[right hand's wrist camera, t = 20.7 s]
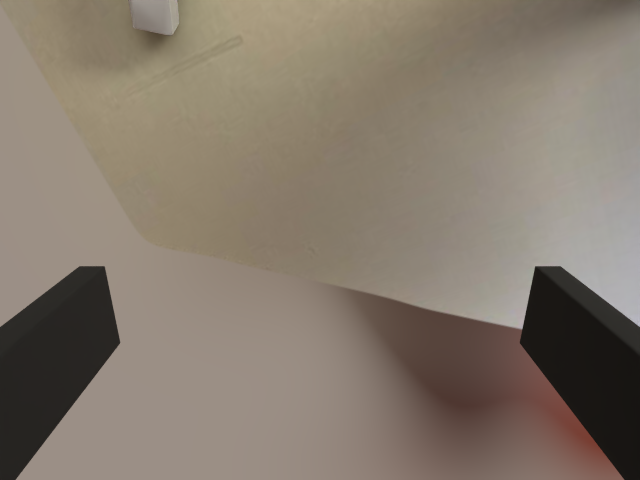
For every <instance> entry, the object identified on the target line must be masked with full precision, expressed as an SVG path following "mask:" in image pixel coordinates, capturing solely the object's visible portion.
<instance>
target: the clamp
mask: <svg viewBox="0 0 640 480" xmlns="http://www.w3.org/2000/svg"><path fill="white" fill-rule="evenodd" d="M128 1H129V6H130V12H131V17H132V22H133V27H134V28H136V29H141V30H145V31H150V32H155V33H159V34H164V35H173V33H174V32H175V30H176V28H177V26H178V25H179V12H178V2H177V0H128Z"/></svg>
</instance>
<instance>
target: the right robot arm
mask: <svg viewBox="0 0 640 480" xmlns="http://www.w3.org/2000/svg"><path fill="white" fill-rule="evenodd" d="M119 344H120V339H119V334H118V329H117V325H116V320H115V315H114V310H113V305H112V300H111V295H110V290H109V286H108V281H107V276H106V271H105V267H104V266H80V267H78V268H77V269H76V270H74V271H73V272H72V273H70V274H69V275H68V276H66V277H65V278H64V279H62V280H61V281H60V282H59V283H57V284H56V285H55V286H53V287H52V288H51V289H49V290H48V291H47V292H45V293H44V294H43V295H42V296H40V297H39V298H38V299H36V300H35V301H34V302H32V303H31V304H30V305H29V306H27V307H26V308H25V309H23V310H22V311H21V312H20V313H18V314H17V315H15V316H14V317H13V318H12V319H10V320H9V321H8V322H6V323H5V324H4V325H3V326H1V327H0V480H16V478H17V477H18V476H19V474H20V473H21V472H22V471H23V469H24V468H25V467H26V465H27V464H28V463H29V461H30V460H31V459H32V457H33V456H34V455H35V454H36V452H37V451H38V450H39V448H40V447H41V446H42V444H43V443H44V442H45V440H46V439H47V438H48V437H49V435H50V434H51V433H52V431H53V430H54V429H55V427H56V426H57V425H58V424H59V422H60V421H61V420H62V418H63V417H64V416H65V414H66V413H67V412H68V410H69V409H70V408H71V407H72V405H73V404H74V403H75V401H76V400H77V399H78V397H79V396H80V395H81V393H82V392H83V391H84V390H85V388H86V387H87V386H88V384H89V383H90V382H91V380H92V379H93V378H94V377H95V375H96V374H97V373H98V371H99V370H100V369H101V367H102V366H103V365H104V363H105V362H106V361H107V360H108V358H109V357H110V356H111V354H112V353H113V352H114V350H115V349H116V348H117V346H118V345H119ZM520 344H521V345H522V346H523V348H524V349H525V350H526V352H527V353H528V354H529V356H530V357H531V358H532V360H533V361H534V362H535V363H536V365H537V366H538V367H539V369H540V370H541V371H542V373H543V374H544V375H545V377H546V378H547V379H548V380H549V382H550V383H551V384H552V386H553V387H554V388H555V390H556V391H557V392H558V393H559V395H560V396H561V397H562V399H563V400H564V401H565V403H566V404H567V405H568V406H569V408H570V409H571V410H572V412H573V413H574V414H575V416H576V417H577V418H578V420H579V421H580V422H581V424H582V425H583V426H584V427H585V429H586V430H587V431H588V433H589V434H590V435H591V437H592V438H593V439H594V440H595V442H596V443H597V444H598V446H599V447H600V448H601V450H602V451H603V452H604V454H605V455H606V456H607V457H608V459H609V460H610V461H611V463H612V464H613V465H614V467H615V468H616V469H617V471H618V472H619V473H620V474H621V476H622V477H623V478H624V480H640V327H639V326H638V325H636V324H635V323H634V322H632V321H631V320H630V319H628V318H627V317H626V316H625V315H623V314H622V313H621V312H619V311H618V310H617V309H615V308H614V307H613V306H611V305H610V304H609V303H608V302H606V301H605V300H604V299H602V298H601V297H600V296H598V295H597V294H596V293H595V292H593V291H592V290H591V289H589V288H588V287H587V286H585V285H584V284H583V283H581V282H580V281H579V280H578V279H576V278H575V277H574V276H572V275H571V274H570V273H568V272H567V271H566V270H565V269H563V268H562V267H561V266H535V271H534V276H533V280H532V285H531V290H530V295H529V300H528V305H527V310H526V315H525V320H524V325H523V329H522V334H521V339H520Z"/></svg>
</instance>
